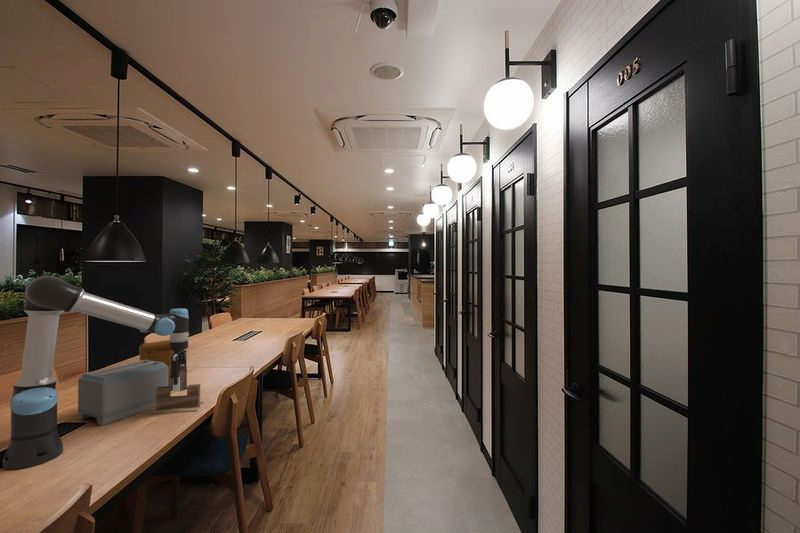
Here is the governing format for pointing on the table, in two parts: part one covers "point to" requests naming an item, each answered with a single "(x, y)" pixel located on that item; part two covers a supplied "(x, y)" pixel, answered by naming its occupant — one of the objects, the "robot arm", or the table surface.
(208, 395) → the table surface
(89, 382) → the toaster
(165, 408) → the wooden u-shaped block
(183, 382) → the box
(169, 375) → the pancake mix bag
